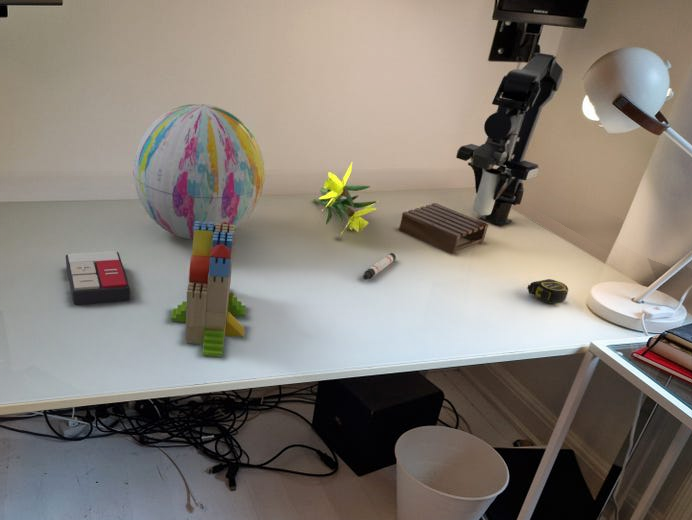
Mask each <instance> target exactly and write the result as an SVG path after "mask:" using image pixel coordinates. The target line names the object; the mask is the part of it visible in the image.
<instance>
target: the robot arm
mask: <svg viewBox="0 0 692 520" xmlns="http://www.w3.org/2000/svg"><path fill="white" fill-rule="evenodd" d="M563 69H564V68H562V67H561V65H559V63H558V62H557V56H554V54H549V53H543V52H536V53H535V52H534V53H533V55H532V57H531V60H529V61H528V62H527V63H526V64H525V65H523V67H522V68H521V69H519V68H518V69H517V68H516V69H515V68H514V69H512V70H510V71H508V72H507V74H506V75H504V76H503V77H502V79H501V81H500V84H499V86H498V88H497V91H496V93H495V96H494V98H493V99H492V101H491V105H493V106H497V109H496V111H495V112H493V113H492V114H490V115H489V116H488V117H487V118H486V119H485V122H484V125H483V130H484V133H485V135H486V140H485V142H484V143H483V144H481V145H477V144H474V143H470V144H465V145H461V146H459V148H458V149H457V151H456V152H457V153H456V155H455V158H457V159H459V160H462V161H465V162H467V161H469V162H467V165H468V166H469V167H471V169H472V171H473V174H474V185H475V186H474V187H475V193H476V194H477V192H478V189H479V186H480V182H481V179H482V175H483V172H484V169H486V170H488V169H491V168H494V166H496V167H497V168H496V169H498V170H501V171H503V173H501V174H499V177H500V180H499V183H498V186H497V189H496V191H495V194H494V200H495V203H494V206H493V209H492V212H491V214H490V215H481V216H480V217H479V219H480V220H482V221H485V222H487V223H490V224H492V225H494V226H497V227H502V226H505V225H507V224H510V223H512V222H513V220H512V219H510V218H508V217H509V214H510V212H511V210H512V206H517V205H521V203H522V200H523V196H524V190H525V188H524V181H527V180H531V179H534V178H537V177H538V174H539V172H540V171H539V170H540V169H539V164H537V163H535V162H532V161H529V160H524V159H525V157H526V154H527V151H528V148H529V146H530V143H531V140H532V137H533V134H534V132H535V129H536V126H537V124H538V121H539V118H540V116H541V113H542V110H543V108H544V107H545V106H546V104H548V103H549V102H550V101H551V100H552V99H553V98H554V95H555V93H556V92H558V91H559V89H560V87H561V84H562V81H563V74H564V73H563V72H564V70H563Z"/></svg>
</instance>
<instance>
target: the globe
mask: <svg viewBox="0 0 692 520" xmlns="http://www.w3.org/2000/svg"><path fill="white" fill-rule="evenodd" d="M264 163H265V162H264V158H263V153H262V150H261V147H260V145H259V143H258V141H257V139H256V137H255V135H254V134H253V133H252V131H251V130H250V128H249V127H248V126H247V125H246V124H245V123H244V122H243V121H242V120H241V119H239V117H237V116H236V115H234V114H233V113H231V112H229V111H227V110H226V109H224V108H222V107H218V106H215V105H211V104H205V103H191V104H185V105H181V106H177V107H175V108H172V109H171V110H168V111H166V112H165V113H163V114H162V115H161V116H158V117H157V118H156V120H154V121H153V122H152V123H151V125H150V126H149V127H148V128H147V129H146V130H145V132H144V133H143V135H142V137H141V139H140V141H139V143H138V145H137V147H136V150H135V155H134V160H133V170H132V174H133V182H134V188H135V191H136V195H137V197H138V199H139V201H140V203H141V205H142V207H143V209H144V210H145V212H146V213H147V215H148V216H149V217H150V219H152V220H153V221H154V222H155V223H156V224H157V225H158V226H159V227H161V228H162V229H164V230H165V231H167V232H169V233H170V234H172V235H174V236H177V237H180V238H182V239H185V240H192V241H193V233H194V225H195V221H200V226H201V225H202V223H203V222H207V227H208V226H209V222H213V223H214V226H215V225H216V223H219V224H221V223H223V222H226V223H228V224H229V225H235V230H237V229H238V228H239V227H241V225H243V224H244V223H246V221H247V220H248V219H249V218H250V216H251V215H252V214H253V212H254V211H255V209H256V208H257V206H258V204H259V201H260V199H261V196H262V194H263V189H264V183H265V164H264ZM201 227H202V226H201Z"/></svg>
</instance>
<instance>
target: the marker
mask: <svg viewBox="0 0 692 520" xmlns="http://www.w3.org/2000/svg"><path fill="white" fill-rule="evenodd" d="M396 259H397V256H396V254H395V253H394V252H390V253H388V254H387V255H385V256H384V257H382V258H381V259H380V260H378V261H377V262H376V263H374V264H373V265H371V266H370V267H369V268H368V269H367V270H365V271H364V273H363V275H362V279H363V280H370V279H372V278H374V277H375V276H377V274H379V273H380V272H381V271H382V270H384V269H385V268H386V267H388V266H389V265H390V264H392V263H393V262H394V261H396Z"/></svg>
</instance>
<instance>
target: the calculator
mask: <svg viewBox="0 0 692 520" xmlns="http://www.w3.org/2000/svg"><path fill="white" fill-rule="evenodd" d="M65 265H66V266H65V267H66V274H67V278H68V283H69V289H70V293H71V294H70V295H71V299H72V300H71V301H72V303H73V305H85V304H99V303H100V304H101V303H112V302H121V301H122V302H123V301H124V302H125V301H130V300H131V299H130V297H131V294H130V293H131V288H130V284H129V281H128V278H127V274H126V272H125V268H124V266H123V265H124V264H123V262H122V259H121V256H120V253H119V252H118V251H116V250H115V251H113V250H111V251H97V252H96V251H93V252H77V253H76V252H75V253H68V254H66V255H65Z"/></svg>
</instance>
